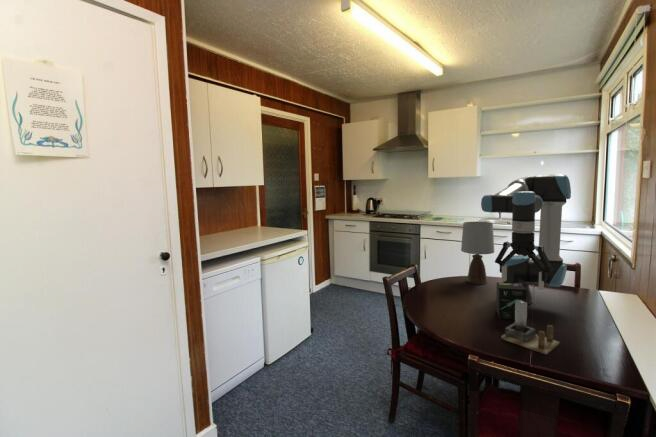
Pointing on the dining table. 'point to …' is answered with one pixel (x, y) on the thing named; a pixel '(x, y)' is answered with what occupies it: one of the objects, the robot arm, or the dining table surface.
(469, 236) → the lamp
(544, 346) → the beige peg board
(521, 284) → the tampon box
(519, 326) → the pin
